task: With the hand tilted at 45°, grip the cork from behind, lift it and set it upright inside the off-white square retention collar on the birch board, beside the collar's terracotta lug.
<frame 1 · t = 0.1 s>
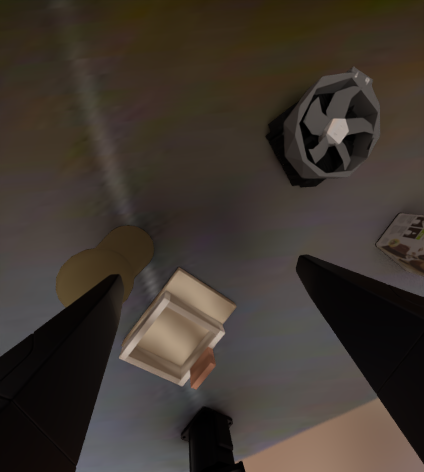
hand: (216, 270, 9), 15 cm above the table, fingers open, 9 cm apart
coffee box: (400, 243, 31), on the table
cpu cooler: (304, 142, 25), on the table
cork: (129, 248, 24), on the table
retention board: (180, 321, 27), on the table
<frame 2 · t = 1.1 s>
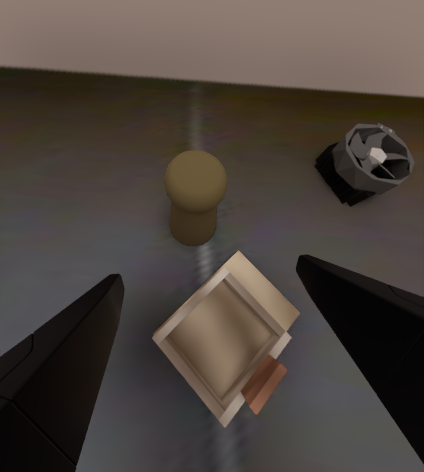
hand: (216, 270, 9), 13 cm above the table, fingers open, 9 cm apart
cpu cooler: (346, 176, 31), on the table
cork: (193, 224, 25), on the table
retention board: (228, 321, 21), on the table
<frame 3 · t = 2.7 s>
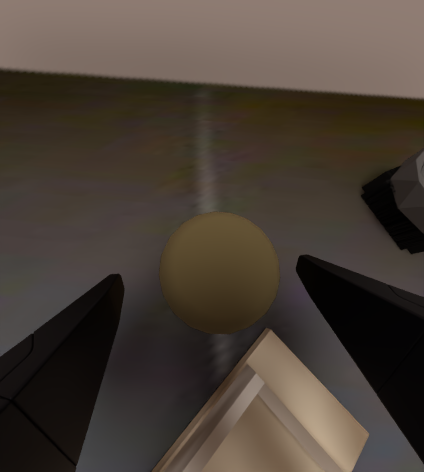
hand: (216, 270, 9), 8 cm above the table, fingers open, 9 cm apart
cpu cooler: (401, 210, 23), on the table
cork: (203, 285, 17), on the table
retention board: (260, 450, 14), on the table
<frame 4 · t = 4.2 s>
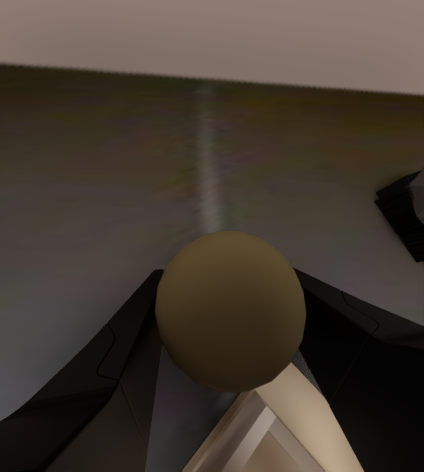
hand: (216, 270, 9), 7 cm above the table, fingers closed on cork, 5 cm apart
cpu cooler: (418, 219, 22), on the table
cork: (205, 299, 16), on the table, touching gripper
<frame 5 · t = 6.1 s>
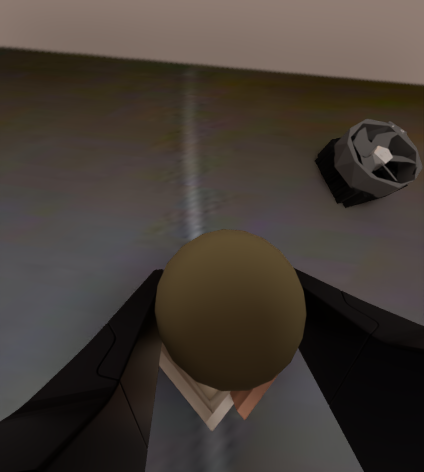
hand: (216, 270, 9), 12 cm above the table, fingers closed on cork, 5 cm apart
cpu cooler: (348, 177, 29), on the table
cork: (205, 299, 16), point 5 cm above the table, touching gripper
retention board: (220, 319, 20), on the table
when the fingers open (9 cm above the table, at t = 8.0 s): cork drops 1 cm, resting on retention board.
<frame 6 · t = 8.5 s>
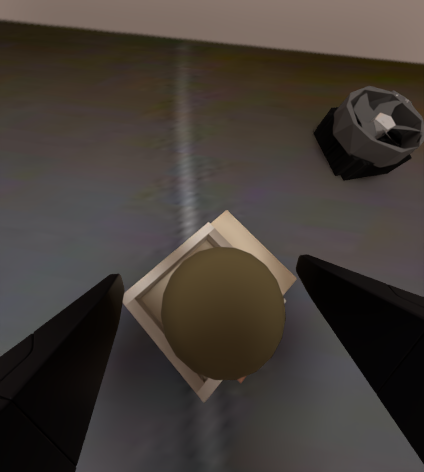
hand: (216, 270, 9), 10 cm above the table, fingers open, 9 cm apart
cpu cooler: (348, 152, 27), on the table
cork: (204, 301, 17), point 1 cm above the table, touching retention board
retention board: (214, 288, 18), on the table
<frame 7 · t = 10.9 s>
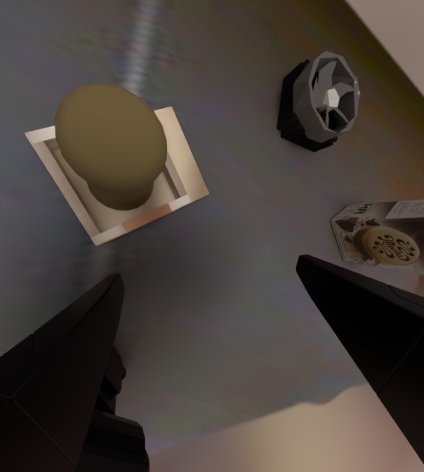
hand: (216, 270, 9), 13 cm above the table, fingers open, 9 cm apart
coffee box: (344, 233, 36), on the table
cpu cooler: (299, 117, 29), on the table
cork: (122, 180, 19), point 1 cm above the table, touching retention board
retention board: (136, 175, 20), on the table
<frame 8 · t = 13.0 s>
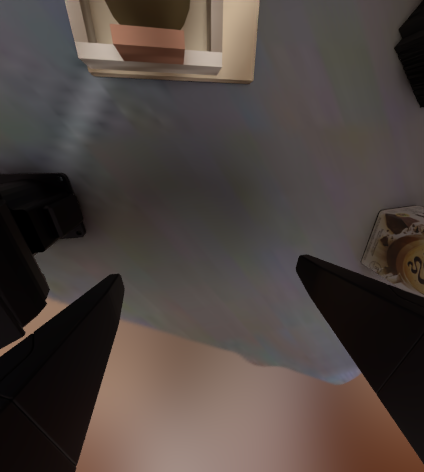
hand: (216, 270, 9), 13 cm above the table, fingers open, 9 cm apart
coffee box: (384, 235, 29), on the table
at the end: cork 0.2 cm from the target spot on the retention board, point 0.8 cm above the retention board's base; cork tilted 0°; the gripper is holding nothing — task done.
